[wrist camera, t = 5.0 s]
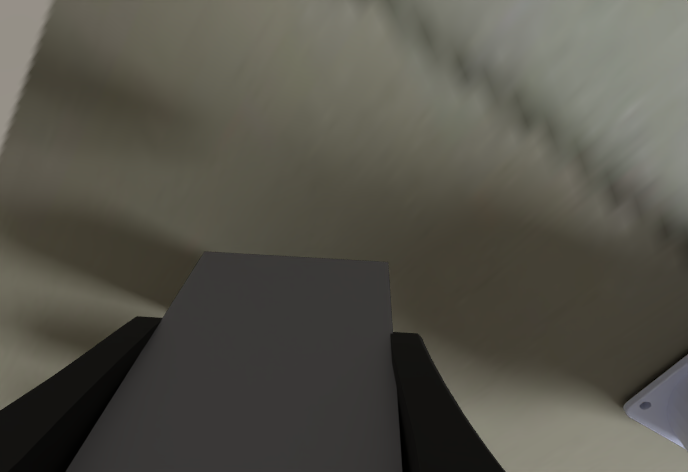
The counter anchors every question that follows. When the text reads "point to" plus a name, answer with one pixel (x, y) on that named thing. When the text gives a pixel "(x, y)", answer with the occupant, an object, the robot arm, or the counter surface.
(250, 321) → the domino
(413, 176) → the counter surface
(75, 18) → the counter surface
